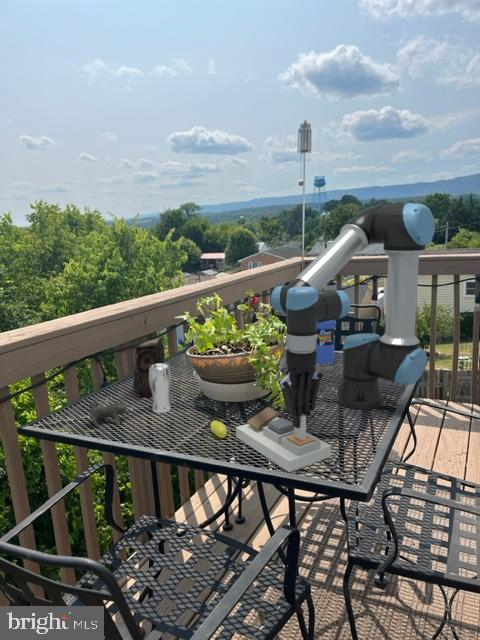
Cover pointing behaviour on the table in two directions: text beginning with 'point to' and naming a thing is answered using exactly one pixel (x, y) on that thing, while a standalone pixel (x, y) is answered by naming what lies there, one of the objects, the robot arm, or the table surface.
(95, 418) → the dog figurine
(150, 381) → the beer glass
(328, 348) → the water bottle
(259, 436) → the switch housing
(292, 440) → the orange button
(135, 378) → the dark brown speaker
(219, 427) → the lemon
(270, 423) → the charcoal button
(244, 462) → the table surface
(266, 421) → the walnut rocker
